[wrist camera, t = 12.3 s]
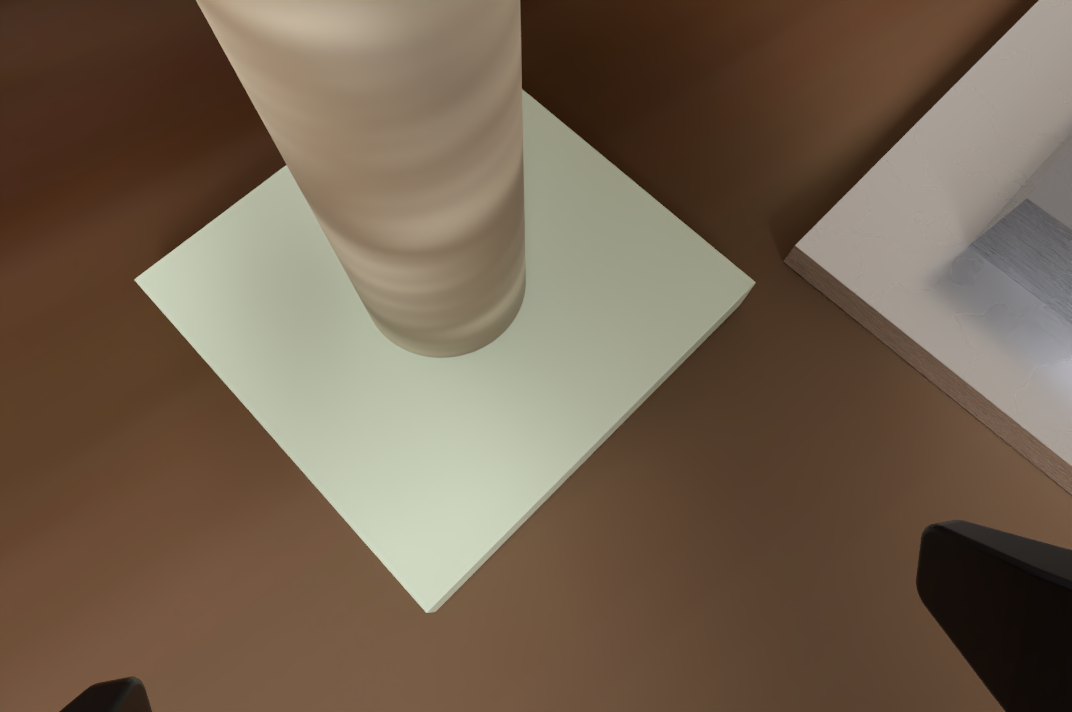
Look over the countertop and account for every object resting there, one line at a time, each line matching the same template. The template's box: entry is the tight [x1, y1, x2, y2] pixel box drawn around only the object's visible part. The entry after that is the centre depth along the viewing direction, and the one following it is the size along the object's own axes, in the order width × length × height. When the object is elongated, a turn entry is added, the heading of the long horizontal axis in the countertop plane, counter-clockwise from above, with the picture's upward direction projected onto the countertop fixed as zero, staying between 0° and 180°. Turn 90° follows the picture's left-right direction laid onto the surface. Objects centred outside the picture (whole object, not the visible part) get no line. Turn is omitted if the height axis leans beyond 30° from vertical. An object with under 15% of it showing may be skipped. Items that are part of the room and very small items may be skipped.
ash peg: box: [196, 0, 526, 358], centre depth 13 cm, size 4×4×12 cm
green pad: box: [134, 89, 756, 613], centre depth 19 cm, size 12×12×2 cm
